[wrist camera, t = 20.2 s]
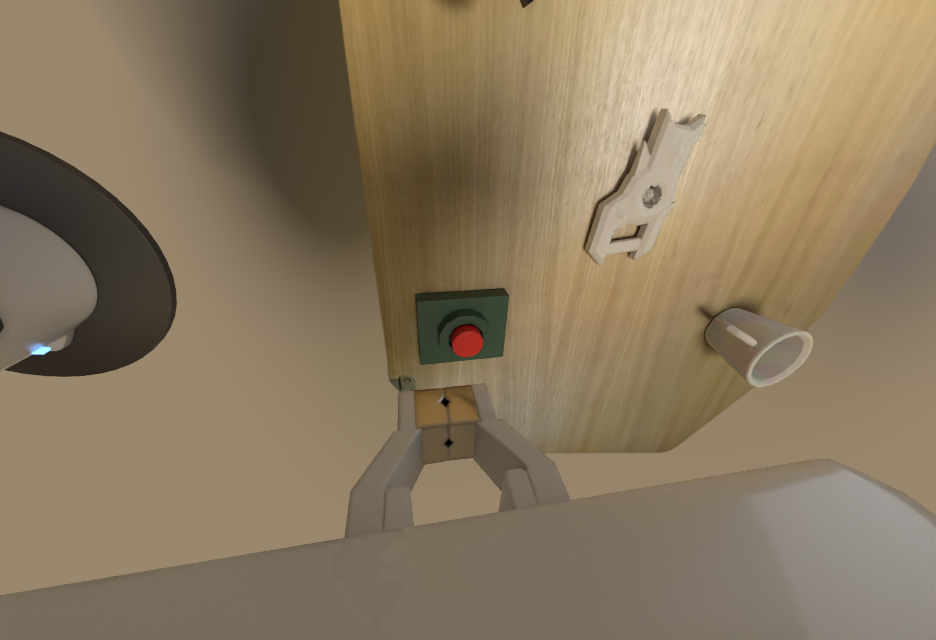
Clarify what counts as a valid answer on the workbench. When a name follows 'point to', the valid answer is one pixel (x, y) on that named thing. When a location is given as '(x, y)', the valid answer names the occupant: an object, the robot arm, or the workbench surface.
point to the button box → (460, 322)
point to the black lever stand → (525, 2)
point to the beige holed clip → (645, 190)
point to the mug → (758, 345)
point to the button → (466, 340)
